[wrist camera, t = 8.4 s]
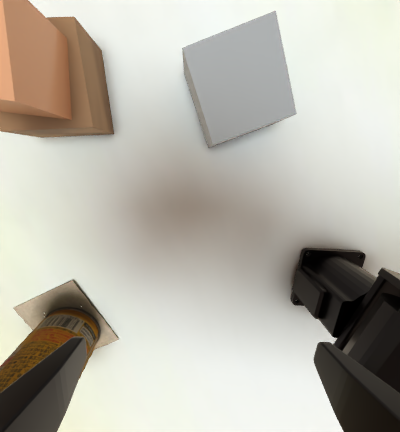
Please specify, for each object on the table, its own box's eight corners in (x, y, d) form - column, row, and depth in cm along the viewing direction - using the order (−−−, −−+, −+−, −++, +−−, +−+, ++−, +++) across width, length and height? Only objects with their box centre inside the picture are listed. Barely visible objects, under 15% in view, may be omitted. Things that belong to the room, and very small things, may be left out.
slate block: (255, 46, 16) (275, 10, 12) (273, 123, 18) (296, 113, 14) (184, 74, 16) (182, 47, 13) (208, 147, 18) (213, 144, 14)
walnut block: (102, 51, 16) (74, 16, 12) (114, 134, 17) (93, 127, 14) (23, 54, 16) (-32, 19, 12) (43, 137, 17) (0, 131, 13)
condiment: (64, 362, 23) (-59, 559, 12) (14, 306, 21) (-196, 482, 10) (119, 337, 23) (46, 519, 11) (74, 278, 21) (-73, 428, 9)
